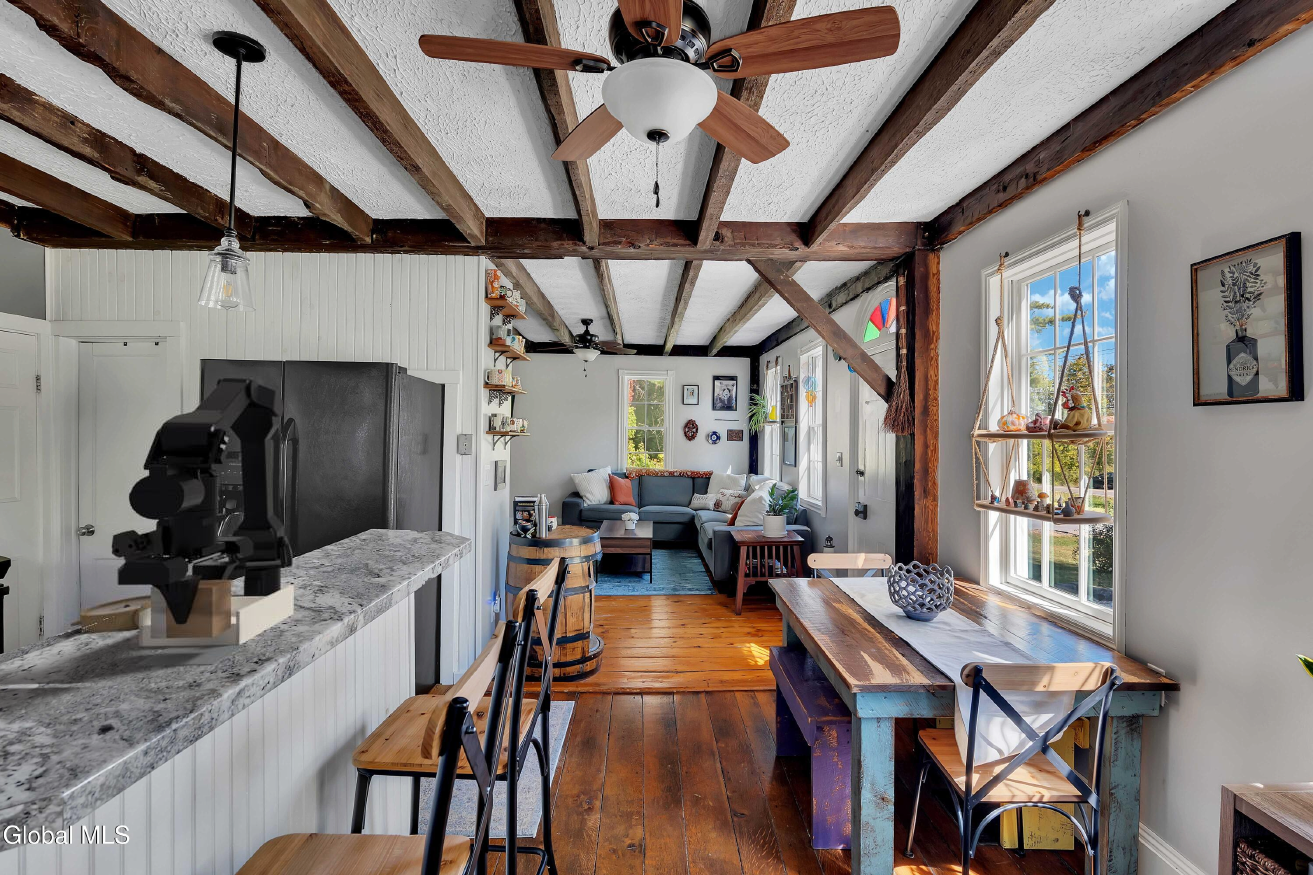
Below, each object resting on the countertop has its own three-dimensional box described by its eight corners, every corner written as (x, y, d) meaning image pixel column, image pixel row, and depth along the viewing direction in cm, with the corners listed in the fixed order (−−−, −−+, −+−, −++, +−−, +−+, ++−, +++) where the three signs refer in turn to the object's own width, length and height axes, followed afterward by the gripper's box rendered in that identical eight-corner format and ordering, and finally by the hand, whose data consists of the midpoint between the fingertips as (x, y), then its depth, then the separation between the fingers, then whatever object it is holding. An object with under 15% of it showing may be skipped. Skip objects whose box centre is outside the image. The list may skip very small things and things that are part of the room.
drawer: (208, 617, 101) (208, 585, 100) (293, 616, 102) (293, 584, 102) (138, 649, 86) (139, 612, 86) (239, 647, 87) (239, 611, 87)
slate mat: (172, 650, 85) (172, 646, 85) (244, 649, 86) (244, 644, 86) (133, 669, 78) (133, 665, 78) (212, 668, 79) (212, 663, 79)
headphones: (111, 598, 101) (206, 581, 104) (117, 626, 101) (212, 607, 104) (57, 619, 90) (165, 598, 93) (64, 650, 90) (171, 628, 93)
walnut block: (172, 628, 84) (172, 579, 84) (231, 627, 85) (231, 579, 85) (150, 638, 80) (150, 587, 80) (212, 637, 81) (212, 586, 81)
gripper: (180, 500, 91) (180, 600, 91) (70, 519, 72) (70, 643, 72) (255, 501, 92) (255, 599, 92) (166, 519, 73) (165, 642, 73)
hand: (192, 618), depth 82 cm, fingers closed on walnut block, 4 cm apart
